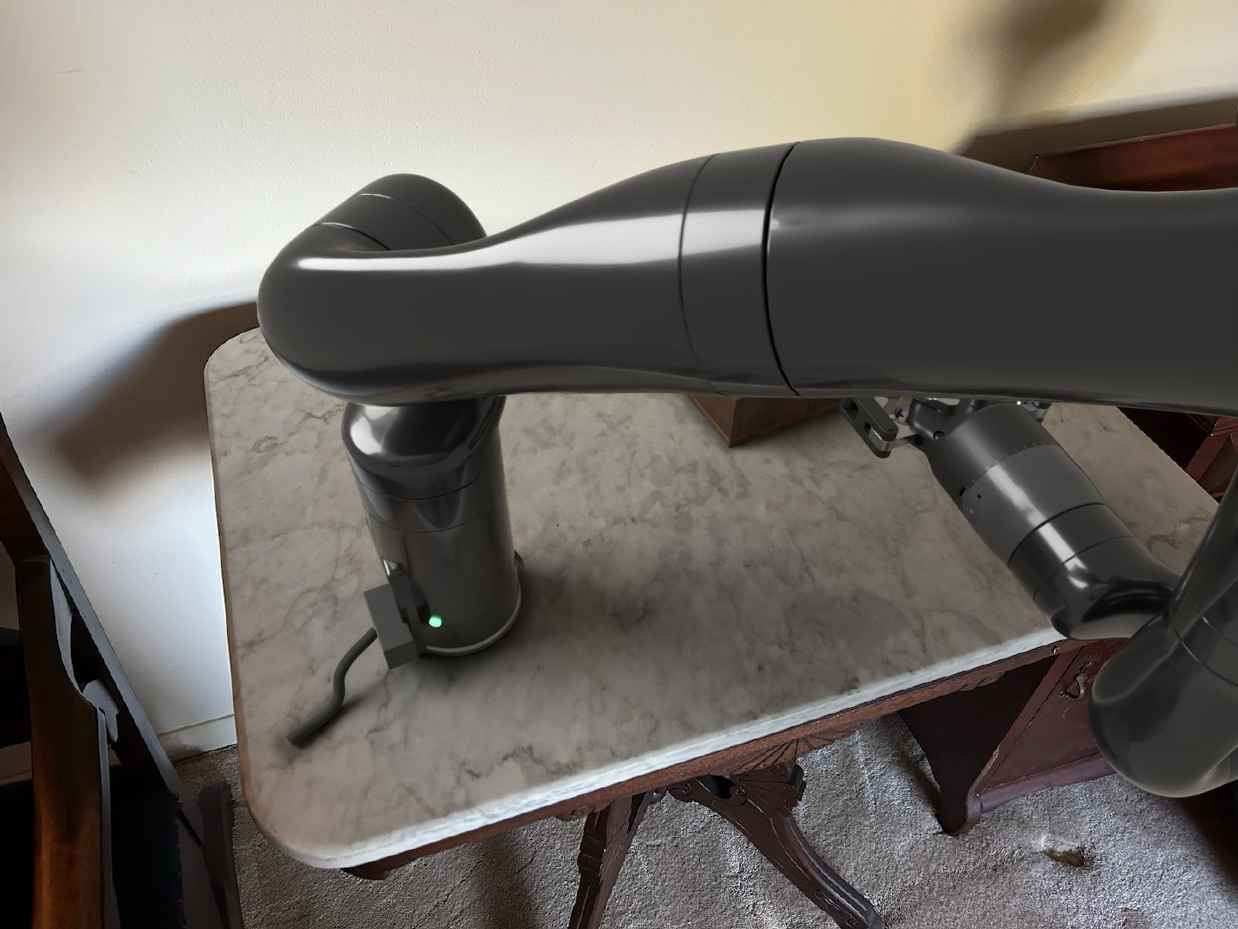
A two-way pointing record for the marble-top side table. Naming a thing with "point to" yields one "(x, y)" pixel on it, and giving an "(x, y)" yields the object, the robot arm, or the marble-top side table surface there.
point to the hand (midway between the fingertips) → (895, 340)
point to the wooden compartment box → (757, 414)
